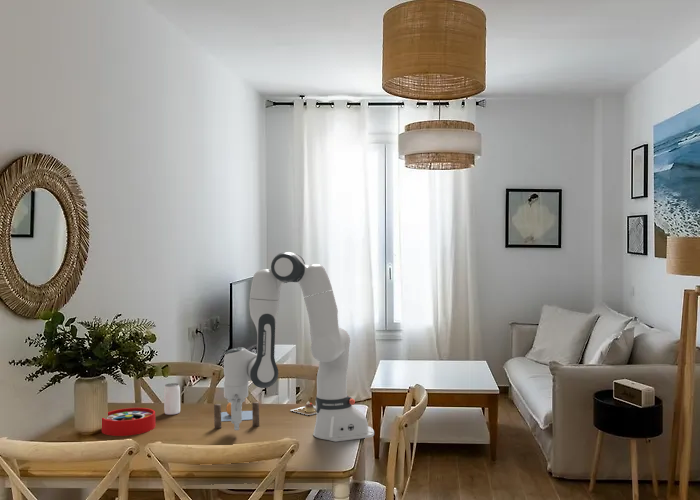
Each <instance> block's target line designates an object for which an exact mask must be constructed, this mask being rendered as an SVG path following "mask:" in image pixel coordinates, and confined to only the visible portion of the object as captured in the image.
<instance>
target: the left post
mask: <svg viewBox="0 0 700 500" xmlns="http://www.w3.org/2000/svg"><path fill="white" fill-rule="evenodd" d="M213 409H214V410H213V414H214V417H213V418H214V422H213V423H214V430H215V429H217V430H218V429H222V422H221V412H222V403H214V404H213Z"/></svg>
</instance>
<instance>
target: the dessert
mask: <svg viewBox="0 0 700 500" xmlns="http://www.w3.org/2000/svg"><path fill="white" fill-rule="evenodd" d="M303 408H305V409H303ZM298 409H301V410H303V412H304V411H306V412H304V413H303V412H299V410H298ZM294 410H297V411H294ZM289 411H291V412H292V411H293V413H296V412H297V414H300V413H301V414H300V415H304V414H305V415H304V416H308V415H310V416H313V415H317V412H315V411H316V405H314V404H313V402H310V401H309V400H308V401H307V402H306V404H305V405H304V406H301V407H296V408H293V409H290V410H289ZM308 413H309V414H308Z"/></svg>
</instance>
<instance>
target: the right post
mask: <svg viewBox="0 0 700 500" xmlns="http://www.w3.org/2000/svg"><path fill="white" fill-rule="evenodd" d="M251 406H252V408H251V409H252V410H251V411H252V416H253V420H252V426H253V427H256V428H257V427H260V402H259V401H253V402H252V404H251Z"/></svg>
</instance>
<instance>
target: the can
mask: <svg viewBox="0 0 700 500" xmlns="http://www.w3.org/2000/svg"><path fill="white" fill-rule="evenodd" d="M179 384H180V383H175V382H173V383H166V384H165V385H164V388H163V396H164V397H163V402H164V403H163V404H164V405H163V406H164V407H163V409H164V411H163V412H164V414H165V415H168V416H172V415H173V416H174V415H178V414H180V412H181V388H180V385H179Z"/></svg>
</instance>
